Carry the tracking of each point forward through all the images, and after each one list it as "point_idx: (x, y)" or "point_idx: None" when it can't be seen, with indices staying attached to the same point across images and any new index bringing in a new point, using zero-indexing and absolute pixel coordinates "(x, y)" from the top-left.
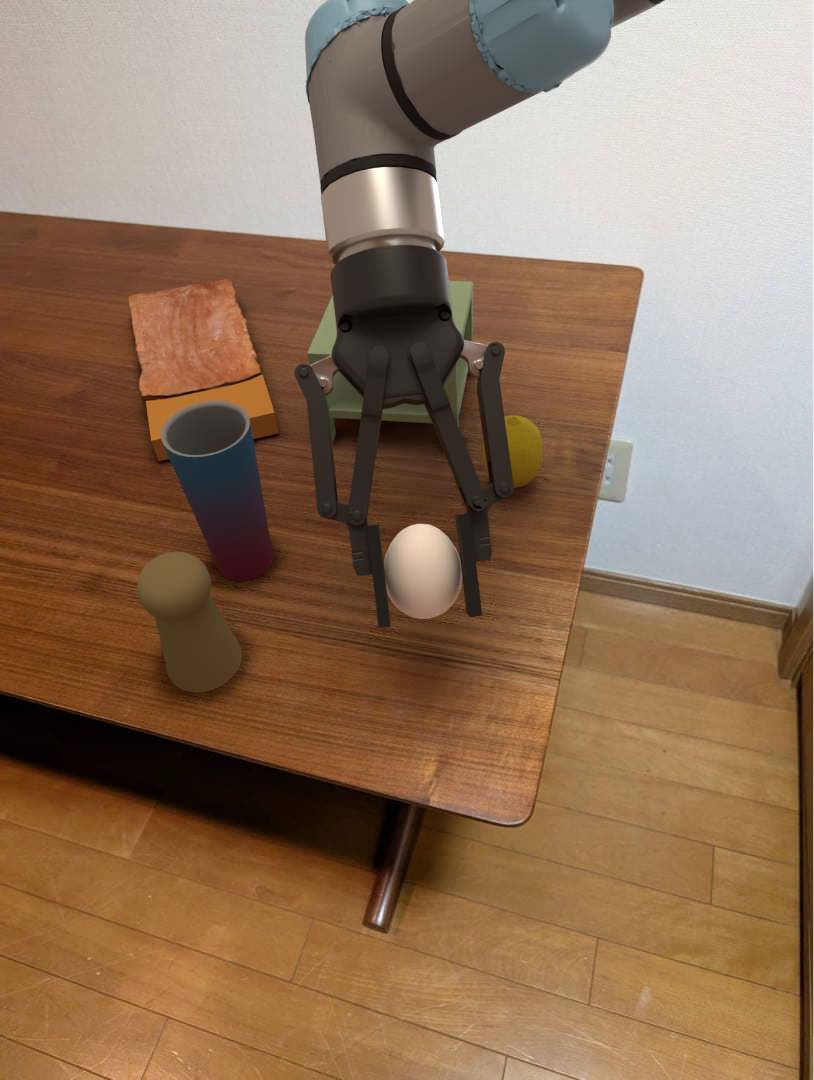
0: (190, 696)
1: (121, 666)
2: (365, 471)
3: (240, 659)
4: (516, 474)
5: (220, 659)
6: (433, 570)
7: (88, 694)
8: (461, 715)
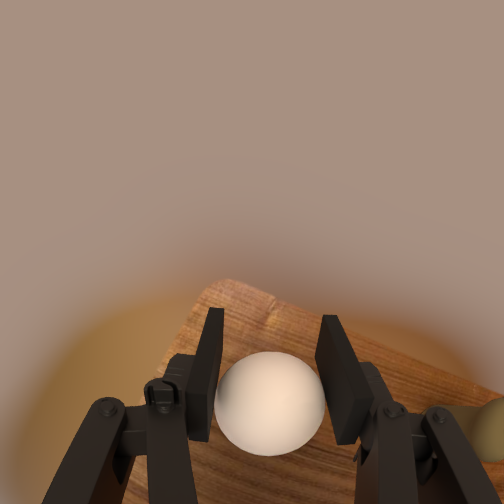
0: (442, 401)
1: None
2: (392, 474)
3: None
4: None
5: None
6: (262, 358)
7: None
8: (237, 360)
